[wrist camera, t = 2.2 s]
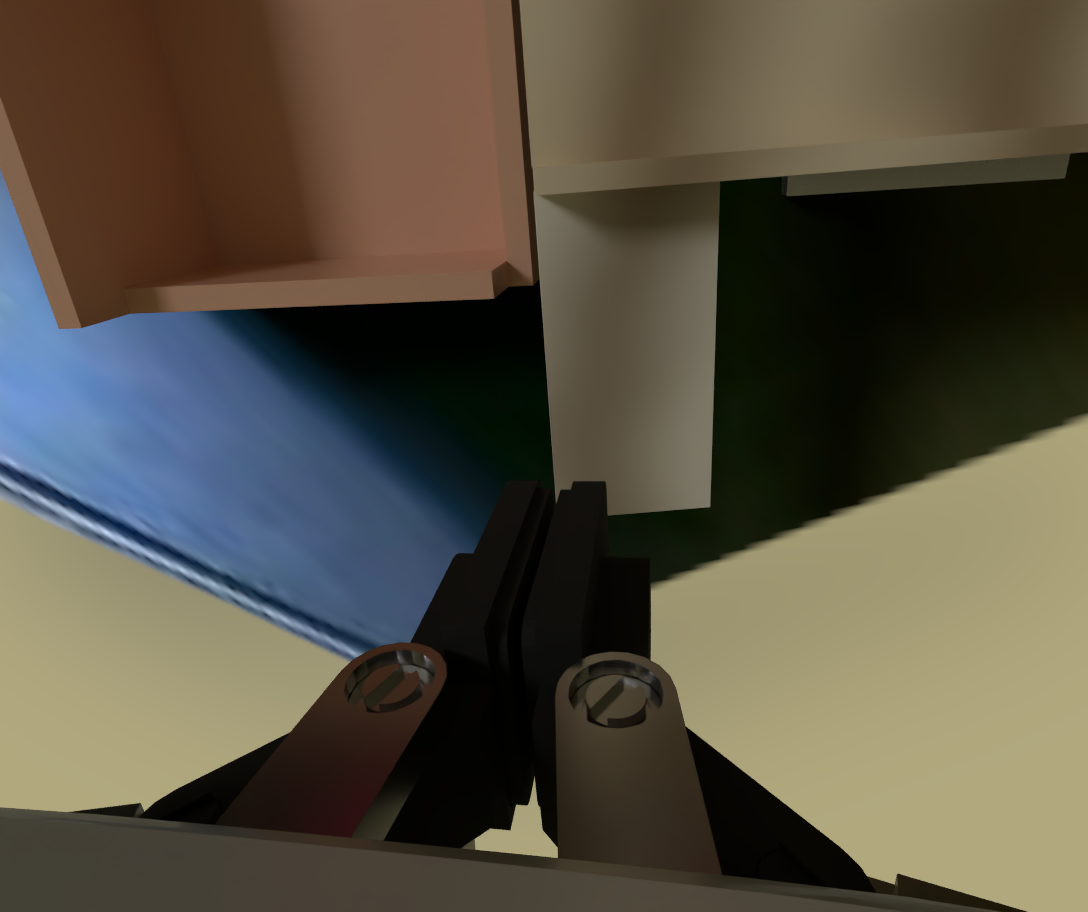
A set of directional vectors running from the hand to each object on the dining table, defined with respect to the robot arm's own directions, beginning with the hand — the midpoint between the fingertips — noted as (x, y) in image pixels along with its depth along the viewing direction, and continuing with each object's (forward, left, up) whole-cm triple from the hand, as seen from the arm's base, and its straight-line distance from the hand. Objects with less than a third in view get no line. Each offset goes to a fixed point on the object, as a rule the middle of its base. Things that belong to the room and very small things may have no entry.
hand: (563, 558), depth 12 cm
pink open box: (+10, -10, -16) cm, 21 cm away
